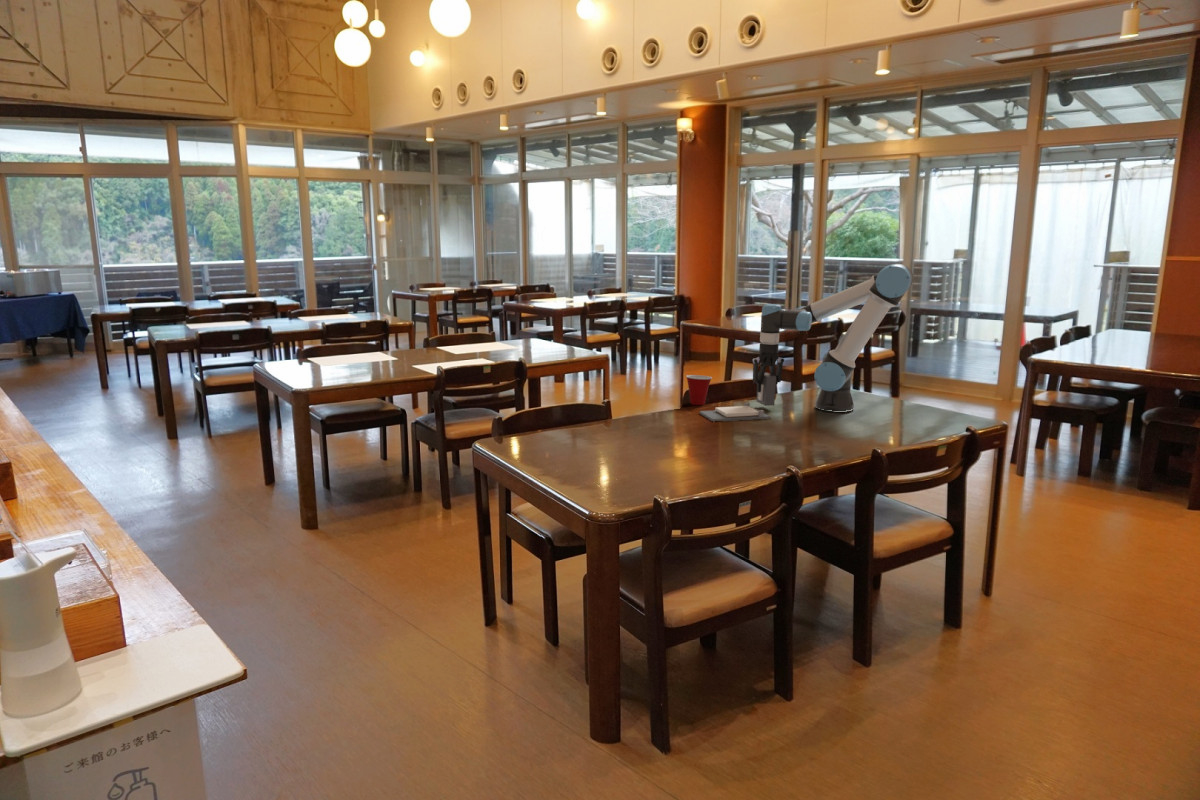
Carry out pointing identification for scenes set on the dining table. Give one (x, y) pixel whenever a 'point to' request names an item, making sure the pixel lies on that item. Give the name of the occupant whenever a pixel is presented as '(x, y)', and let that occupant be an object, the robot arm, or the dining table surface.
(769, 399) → the gray rectangular block
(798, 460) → the dining table surface
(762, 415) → the tile mat
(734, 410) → the tile
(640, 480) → the dining table surface
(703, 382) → the plastic cup
